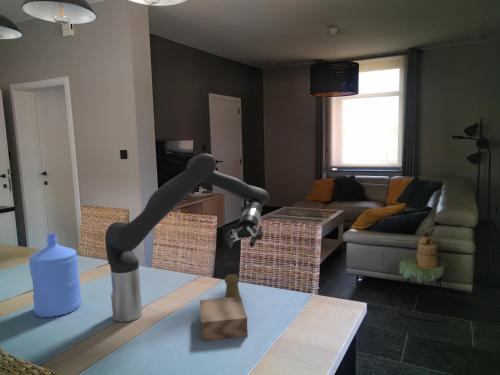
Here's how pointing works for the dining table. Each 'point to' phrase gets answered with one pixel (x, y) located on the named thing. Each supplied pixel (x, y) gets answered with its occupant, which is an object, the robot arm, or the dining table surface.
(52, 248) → the water jug
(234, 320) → the walnut block
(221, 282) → the dining table surface
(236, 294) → the cork
